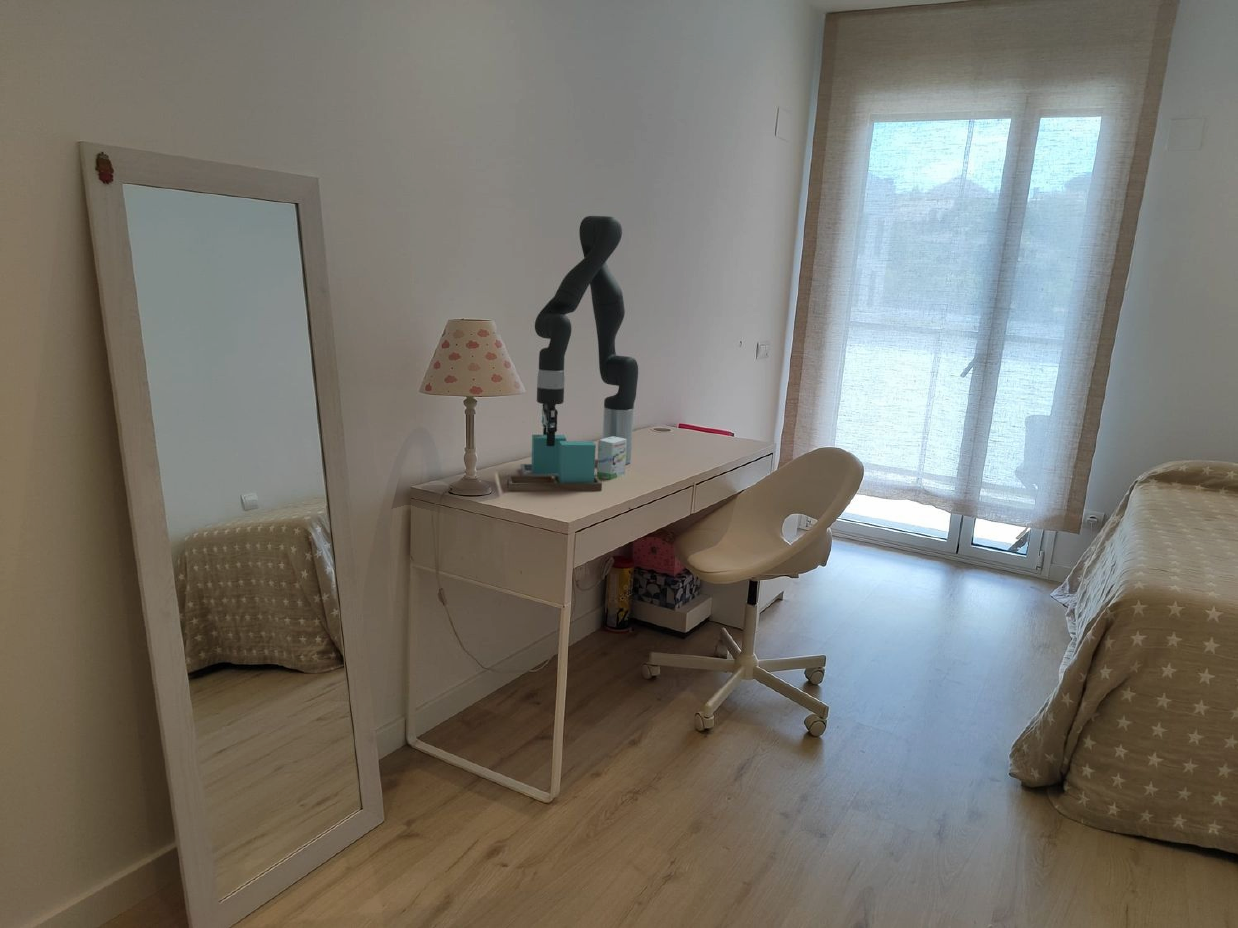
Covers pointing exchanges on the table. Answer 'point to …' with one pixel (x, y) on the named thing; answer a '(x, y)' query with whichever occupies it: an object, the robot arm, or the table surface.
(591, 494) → the table surface
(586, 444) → the block
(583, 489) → the brown shallow tray
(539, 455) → the block
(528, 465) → the grey square tray
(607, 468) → the ink box
